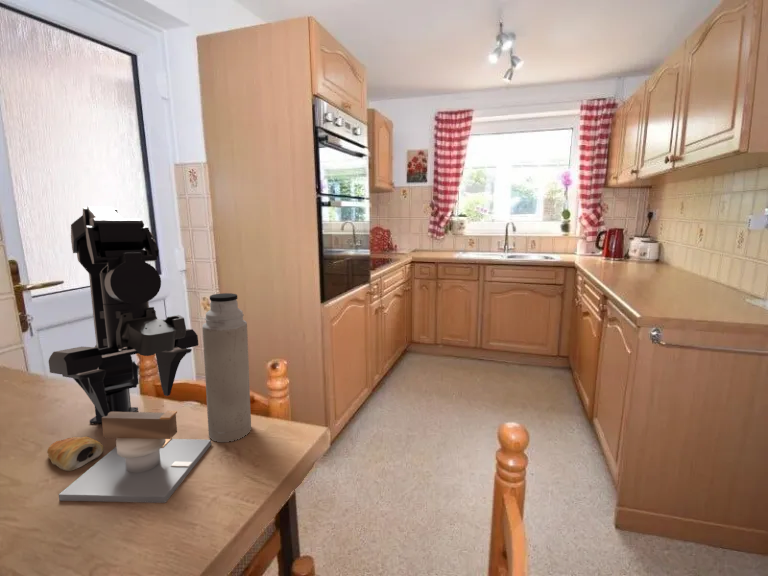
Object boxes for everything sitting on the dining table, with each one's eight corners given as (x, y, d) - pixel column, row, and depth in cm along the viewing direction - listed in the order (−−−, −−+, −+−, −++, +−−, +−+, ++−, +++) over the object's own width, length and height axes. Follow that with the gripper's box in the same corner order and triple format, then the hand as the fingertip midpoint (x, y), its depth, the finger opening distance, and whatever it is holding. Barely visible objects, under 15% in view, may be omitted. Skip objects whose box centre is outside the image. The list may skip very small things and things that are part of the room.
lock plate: (127, 442, 77) (125, 423, 76) (211, 444, 77) (210, 424, 76) (59, 500, 61) (56, 476, 60) (165, 502, 61) (163, 478, 60)
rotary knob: (122, 434, 71) (119, 403, 71) (186, 435, 71) (183, 404, 70) (94, 457, 65) (90, 423, 64) (164, 458, 64) (161, 424, 64)
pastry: (35, 461, 71) (33, 441, 70) (77, 442, 77) (75, 424, 76) (68, 475, 67) (65, 454, 67) (109, 454, 73) (107, 435, 73)
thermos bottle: (221, 420, 86) (214, 290, 81) (257, 423, 85) (252, 291, 80) (200, 441, 78) (191, 297, 73) (240, 443, 77) (234, 299, 72)
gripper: (81, 310, 48) (96, 438, 49) (215, 294, 64) (224, 391, 65) (40, 311, 54) (54, 425, 55) (173, 296, 70) (182, 385, 71)
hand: (137, 405), depth 61 cm, fingers open, 9 cm apart
